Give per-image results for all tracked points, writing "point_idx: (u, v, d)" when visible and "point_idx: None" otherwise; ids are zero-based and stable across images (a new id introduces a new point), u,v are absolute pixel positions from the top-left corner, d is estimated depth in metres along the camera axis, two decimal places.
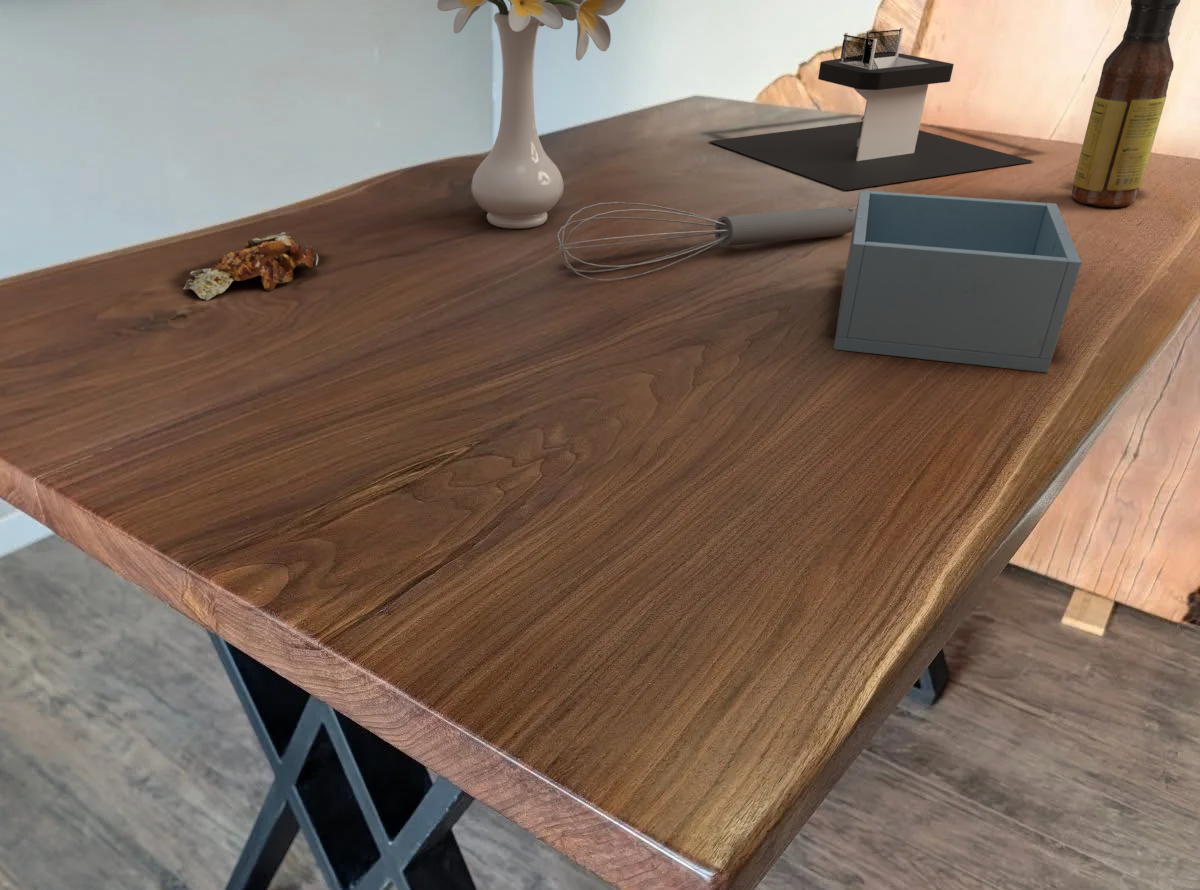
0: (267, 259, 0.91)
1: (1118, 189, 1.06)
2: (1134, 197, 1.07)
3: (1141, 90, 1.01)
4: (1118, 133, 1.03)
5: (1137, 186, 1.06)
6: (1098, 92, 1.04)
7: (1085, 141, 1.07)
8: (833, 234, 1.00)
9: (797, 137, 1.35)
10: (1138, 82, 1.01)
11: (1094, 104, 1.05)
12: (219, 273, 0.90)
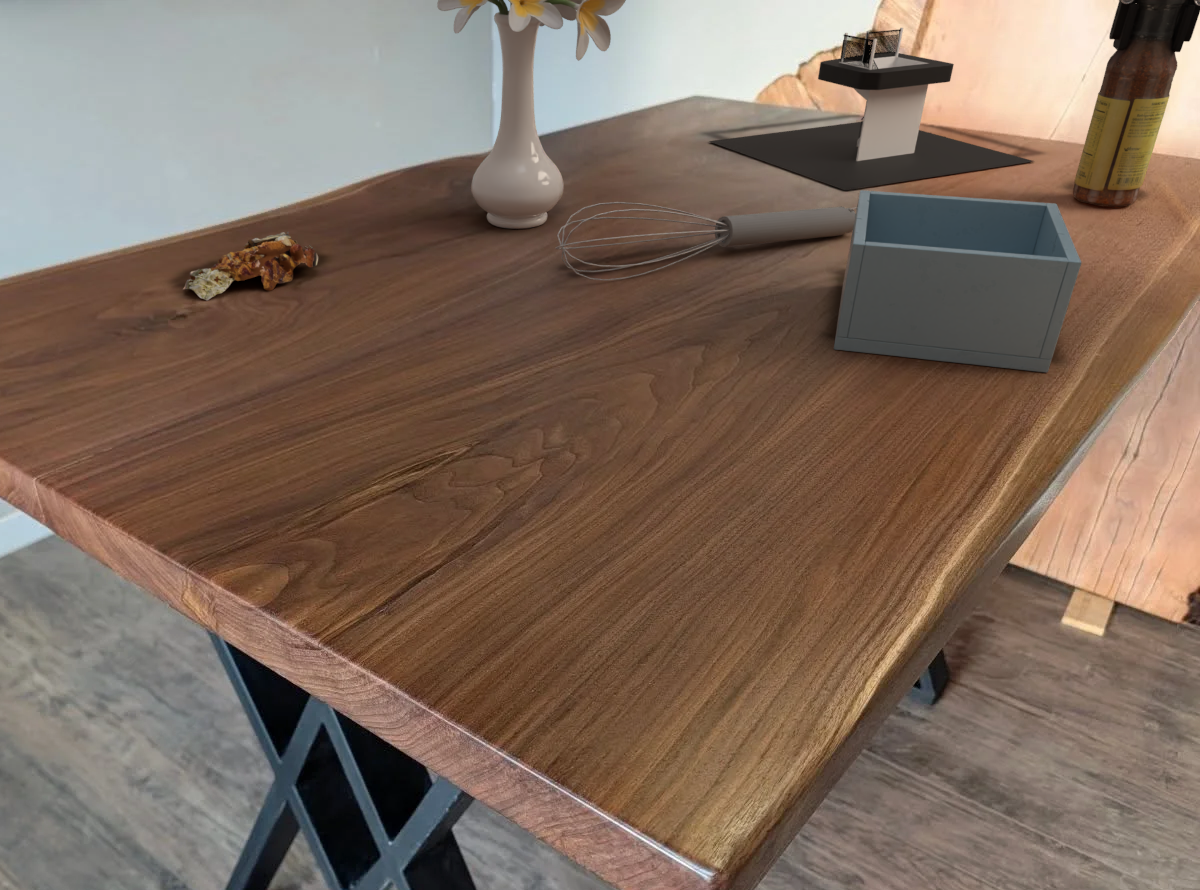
0: (267, 259, 0.91)
1: (1119, 188, 1.06)
2: (1134, 197, 1.07)
3: (1144, 89, 1.01)
4: (1120, 133, 1.03)
5: (1138, 186, 1.06)
6: (1101, 91, 1.04)
7: (1087, 140, 1.06)
8: (833, 234, 1.00)
9: (797, 137, 1.35)
10: (1141, 81, 1.00)
11: (1097, 103, 1.05)
12: (219, 273, 0.90)
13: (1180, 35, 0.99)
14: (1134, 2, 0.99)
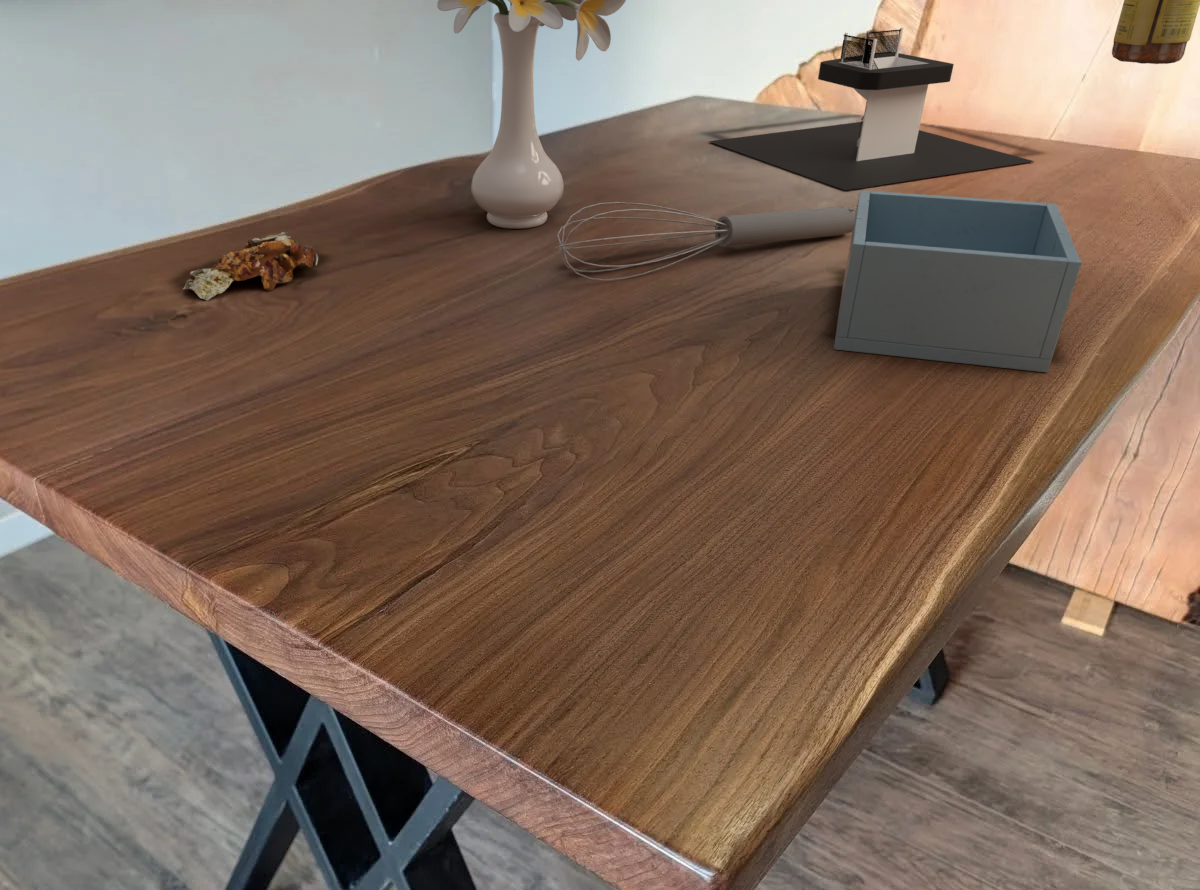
0: (267, 259, 0.91)
1: (1164, 41, 0.96)
2: (1181, 53, 0.97)
3: None
4: None
5: (1185, 39, 0.96)
6: None
7: None
8: (833, 234, 1.00)
9: (797, 137, 1.35)
10: None
11: None
12: (219, 272, 0.90)
13: None
14: None
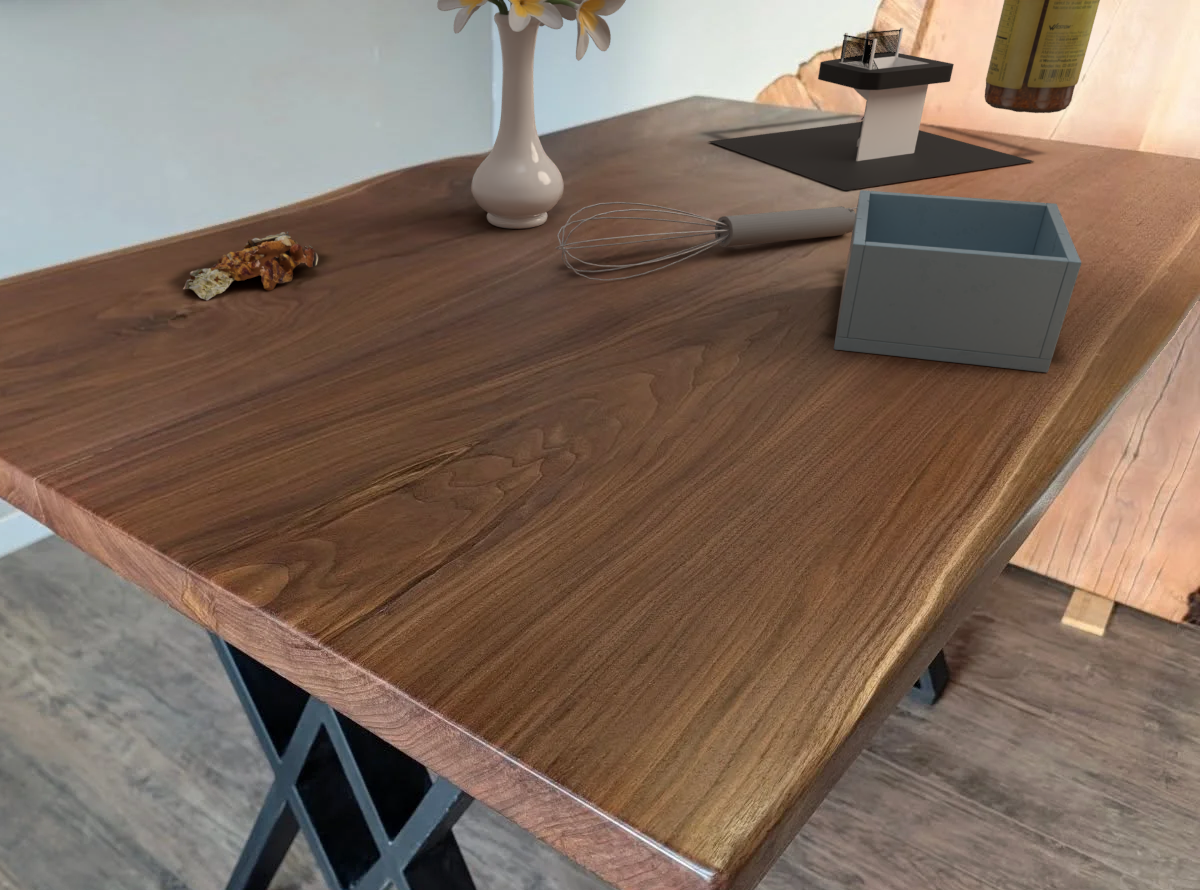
0: (267, 259, 0.91)
1: (1043, 85, 0.75)
2: (1066, 100, 0.77)
3: None
4: (1044, 3, 0.73)
5: (1070, 83, 0.76)
6: None
7: (1001, 18, 0.76)
8: (833, 234, 1.00)
9: (797, 137, 1.35)
10: None
11: None
12: (219, 272, 0.90)
13: None
14: None
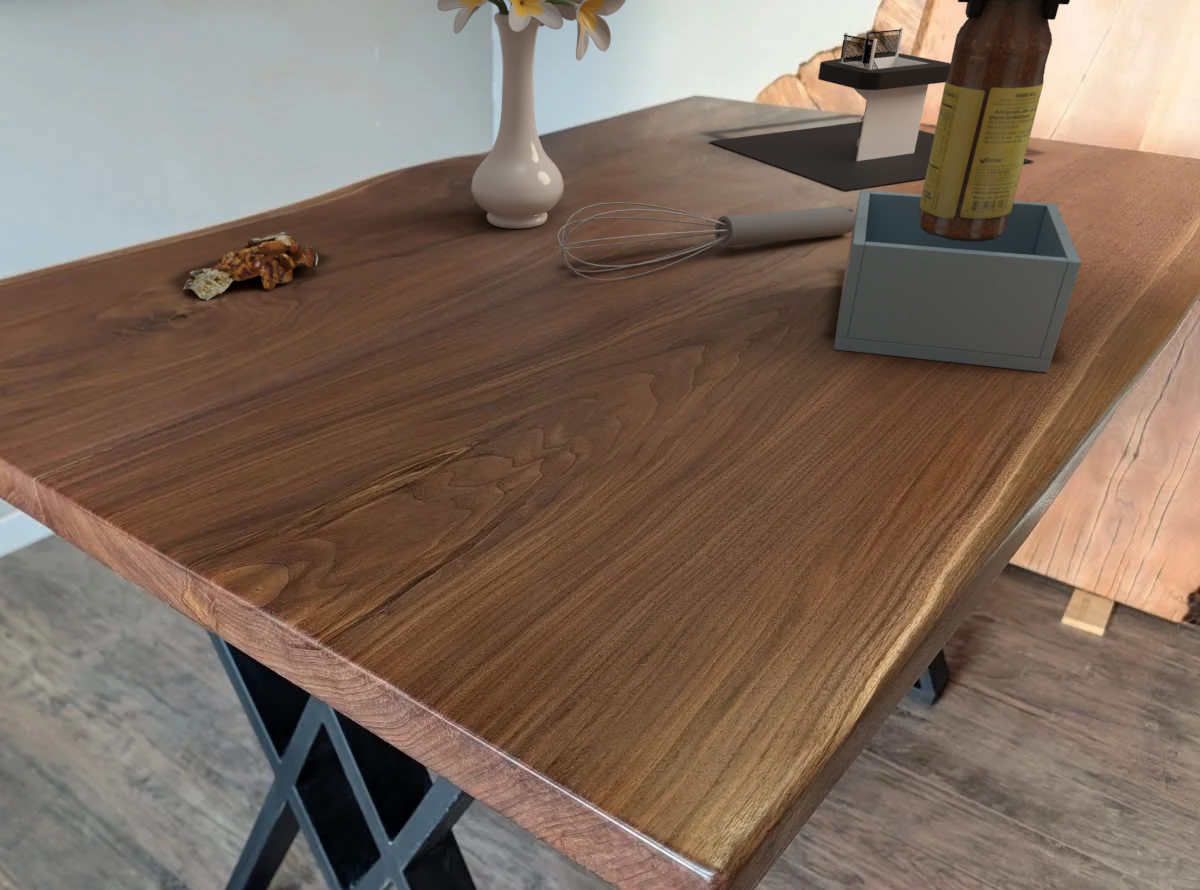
0: (267, 259, 0.91)
1: (976, 216, 0.74)
2: (1000, 228, 0.75)
3: (1003, 74, 0.69)
4: (974, 136, 0.72)
5: (1003, 213, 0.74)
6: (949, 76, 0.72)
7: (933, 146, 0.75)
8: (833, 234, 1.00)
9: (797, 137, 1.35)
10: (999, 62, 0.69)
11: (944, 93, 0.73)
12: (219, 272, 0.90)
13: None
14: None
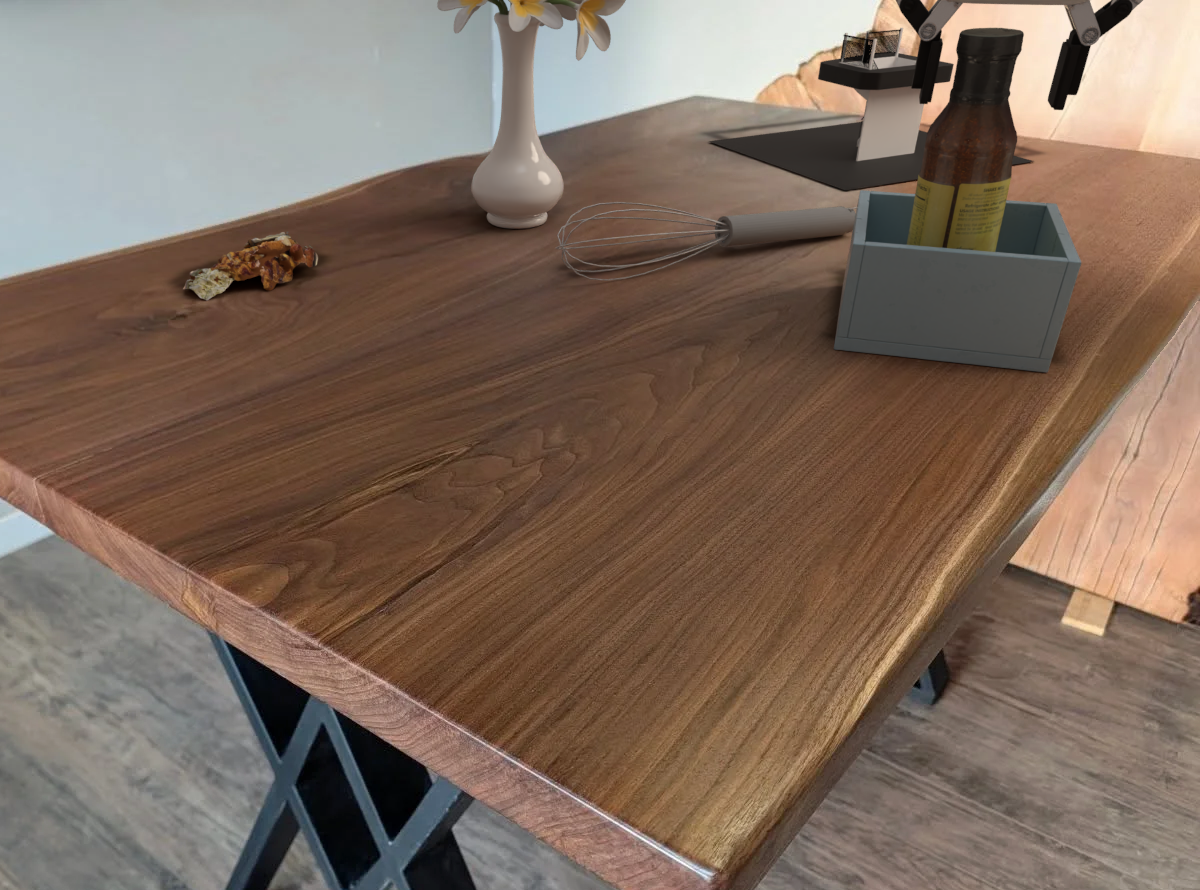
0: (267, 259, 0.91)
1: None
2: None
3: (972, 171, 0.73)
4: (946, 228, 0.75)
5: None
6: (921, 170, 0.76)
7: (909, 234, 0.79)
8: (833, 234, 1.00)
9: (797, 137, 1.35)
10: (967, 160, 0.72)
11: (917, 186, 0.77)
12: (219, 272, 0.90)
13: (1062, 87, 0.70)
14: (938, 38, 0.71)
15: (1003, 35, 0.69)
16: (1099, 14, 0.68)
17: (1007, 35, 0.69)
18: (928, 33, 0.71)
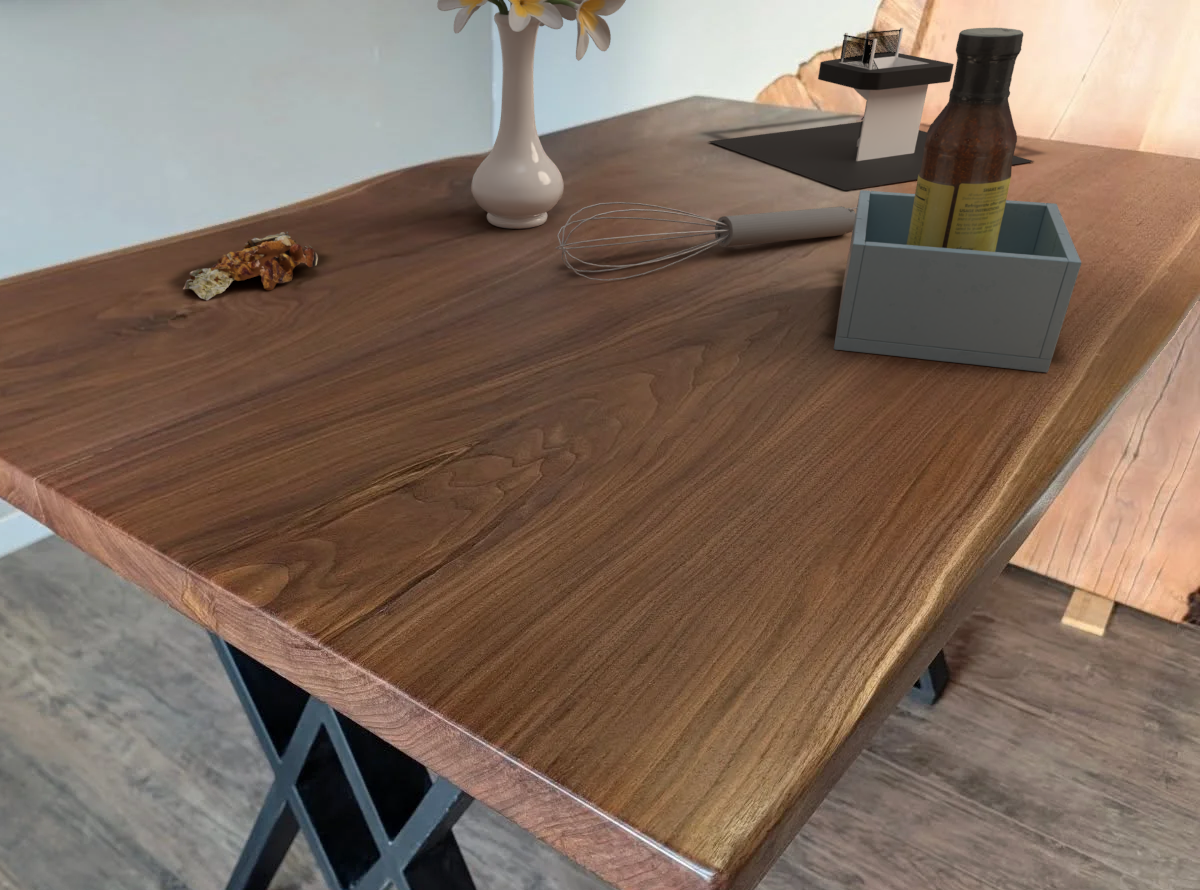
0: (267, 259, 0.91)
1: None
2: None
3: (971, 171, 0.73)
4: (946, 228, 0.75)
5: None
6: (921, 170, 0.76)
7: (909, 234, 0.79)
8: (833, 234, 1.00)
9: (797, 137, 1.35)
10: (966, 160, 0.73)
11: (917, 186, 0.77)
12: (219, 272, 0.90)
13: None
14: None
15: (1003, 35, 0.69)
16: None
17: (1007, 35, 0.69)
18: None
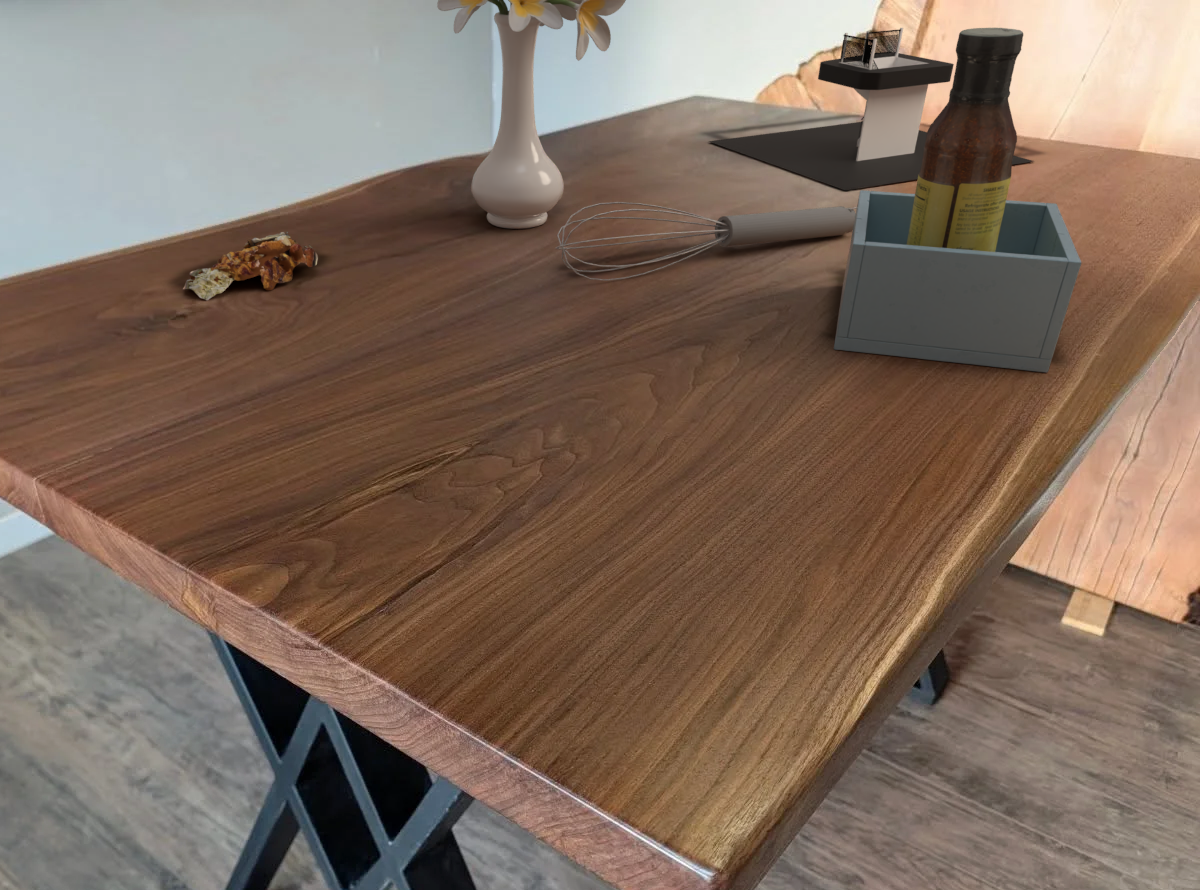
0: (267, 259, 0.91)
1: None
2: None
3: (971, 171, 0.73)
4: (946, 228, 0.75)
5: None
6: (921, 170, 0.76)
7: (909, 234, 0.79)
8: (833, 234, 1.00)
9: (797, 137, 1.35)
10: (966, 160, 0.73)
11: (917, 186, 0.77)
12: (219, 272, 0.90)
13: None
14: None
15: (1003, 35, 0.69)
16: None
17: (1007, 35, 0.69)
18: None
